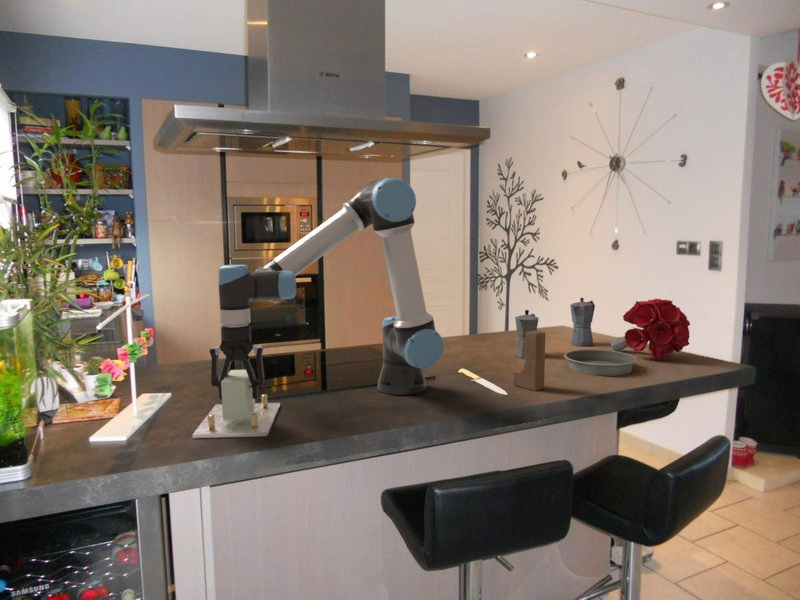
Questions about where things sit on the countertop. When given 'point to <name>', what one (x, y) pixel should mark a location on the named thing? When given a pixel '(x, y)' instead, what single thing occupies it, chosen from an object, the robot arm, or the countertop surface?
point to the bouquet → (655, 328)
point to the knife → (483, 381)
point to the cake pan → (600, 362)
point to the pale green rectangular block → (236, 395)
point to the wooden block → (532, 363)
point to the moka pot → (582, 322)
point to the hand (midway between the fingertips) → (239, 410)
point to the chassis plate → (239, 422)
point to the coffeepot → (524, 331)
